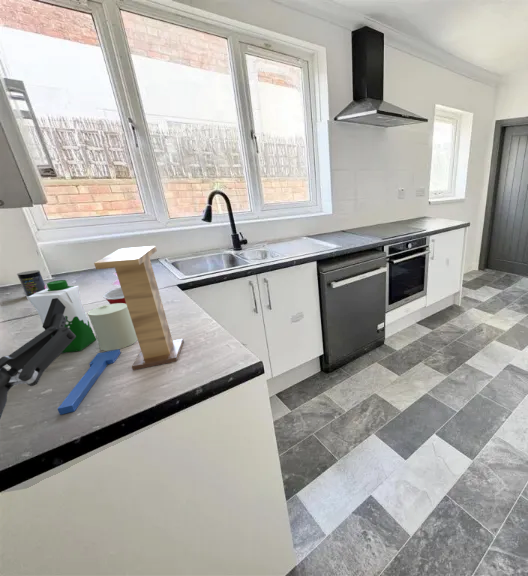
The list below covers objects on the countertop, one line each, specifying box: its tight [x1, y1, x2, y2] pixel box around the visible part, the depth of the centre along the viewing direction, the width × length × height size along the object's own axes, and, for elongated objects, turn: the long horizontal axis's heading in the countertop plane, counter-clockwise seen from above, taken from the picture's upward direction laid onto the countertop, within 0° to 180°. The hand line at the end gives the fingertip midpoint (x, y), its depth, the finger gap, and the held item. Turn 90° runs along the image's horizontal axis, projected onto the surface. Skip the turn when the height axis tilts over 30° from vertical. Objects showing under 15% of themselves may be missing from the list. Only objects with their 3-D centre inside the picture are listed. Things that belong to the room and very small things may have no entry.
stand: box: [93, 245, 185, 371], centre depth 82 cm, size 17×10×30 cm, turn 24°
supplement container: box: [16, 269, 48, 297], centre depth 136 cm, size 7×7×10 cm
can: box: [87, 303, 138, 352], centre depth 93 cm, size 9×9×12 cm
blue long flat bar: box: [57, 349, 121, 415], centre depth 77 cm, size 26×5×2 cm, turn 24°
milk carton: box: [26, 279, 97, 354], centre depth 90 cm, size 9×9×20 cm
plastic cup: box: [102, 286, 126, 304], centre depth 107 cm, size 11×11×12 cm
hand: (9, 309), depth 56 cm, fingers open, 13 cm apart
